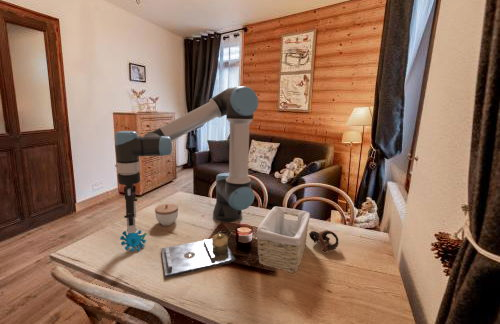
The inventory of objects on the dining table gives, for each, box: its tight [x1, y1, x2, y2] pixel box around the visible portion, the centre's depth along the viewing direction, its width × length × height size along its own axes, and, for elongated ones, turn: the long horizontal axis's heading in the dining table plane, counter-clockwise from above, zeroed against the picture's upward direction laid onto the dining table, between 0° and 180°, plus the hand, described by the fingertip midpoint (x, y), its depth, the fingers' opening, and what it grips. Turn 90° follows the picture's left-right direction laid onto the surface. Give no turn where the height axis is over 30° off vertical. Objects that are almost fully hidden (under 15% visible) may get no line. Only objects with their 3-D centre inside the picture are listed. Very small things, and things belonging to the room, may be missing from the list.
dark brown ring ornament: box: [308, 229, 339, 253], centre depth 104 cm, size 12×9×8 cm
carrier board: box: [160, 232, 236, 279], centre depth 95 cm, size 25×17×7 cm
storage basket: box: [256, 206, 311, 274], centre depth 97 cm, size 24×16×15 cm
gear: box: [119, 228, 147, 253], centre depth 101 cm, size 11×6×10 cm
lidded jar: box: [154, 203, 179, 226], centre depth 121 cm, size 11×11×9 cm
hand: (132, 224), depth 98 cm, fingers open, 13 cm apart
